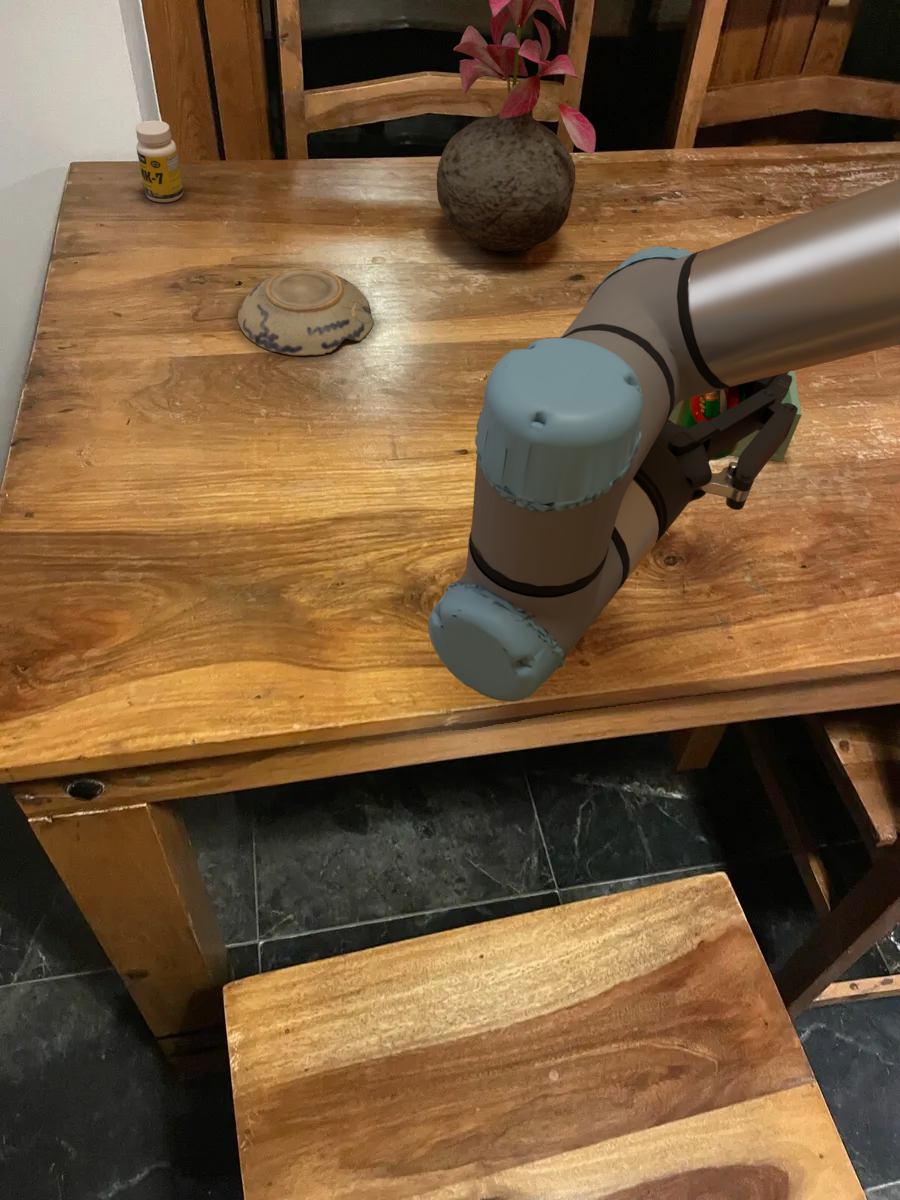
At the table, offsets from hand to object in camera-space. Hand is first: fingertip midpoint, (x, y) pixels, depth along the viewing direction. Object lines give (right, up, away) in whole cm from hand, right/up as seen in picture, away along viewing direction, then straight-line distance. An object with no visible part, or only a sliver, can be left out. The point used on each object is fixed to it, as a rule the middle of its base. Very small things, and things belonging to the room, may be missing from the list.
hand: (754, 342), depth 72 cm
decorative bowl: (-39, +11, +31) cm, 51 cm away
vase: (-17, +24, +43) cm, 53 cm away
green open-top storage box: (+2, 0, +24) cm, 24 cm away
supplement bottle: (-60, +32, +47) cm, 83 cm away
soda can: (-3, -8, +2) cm, 9 cm away
